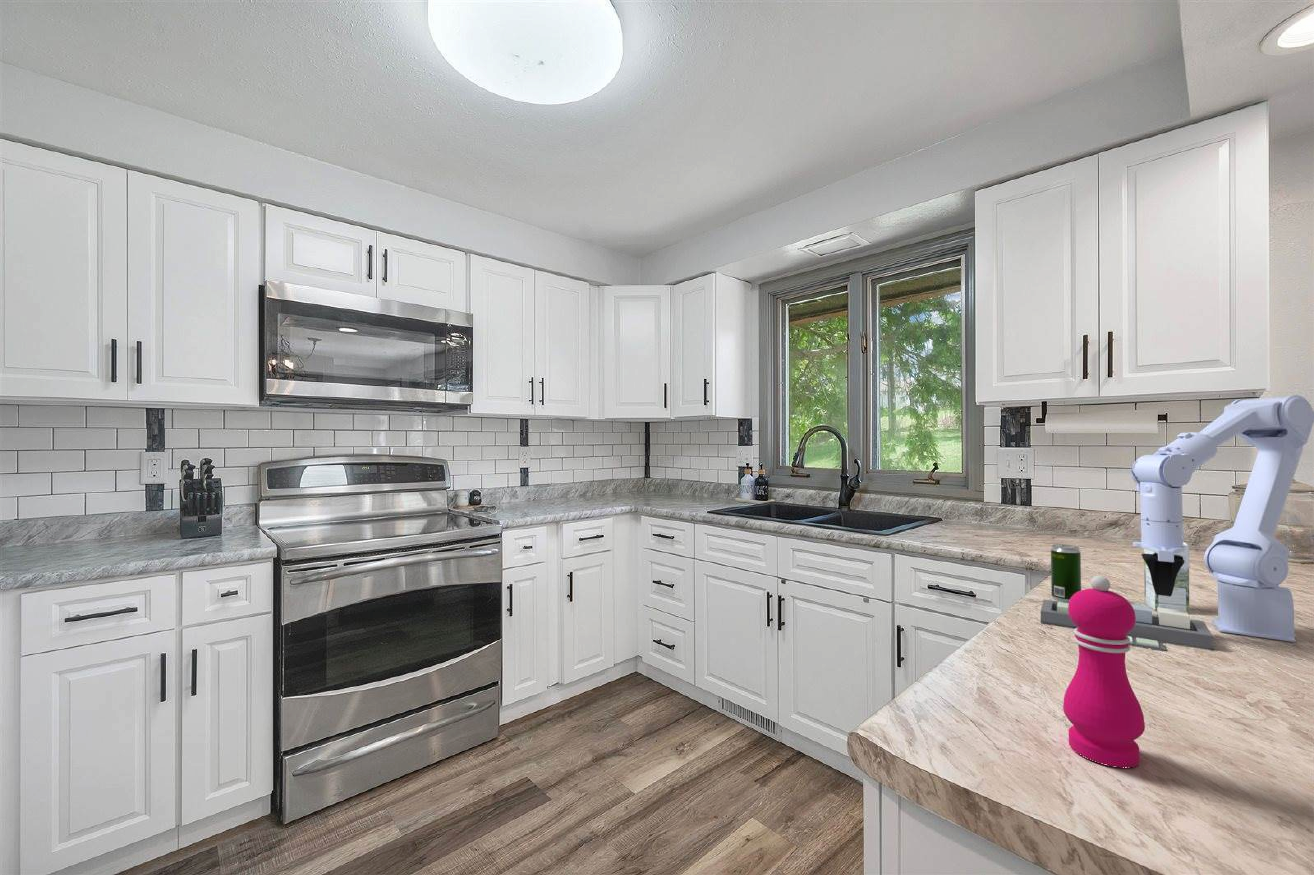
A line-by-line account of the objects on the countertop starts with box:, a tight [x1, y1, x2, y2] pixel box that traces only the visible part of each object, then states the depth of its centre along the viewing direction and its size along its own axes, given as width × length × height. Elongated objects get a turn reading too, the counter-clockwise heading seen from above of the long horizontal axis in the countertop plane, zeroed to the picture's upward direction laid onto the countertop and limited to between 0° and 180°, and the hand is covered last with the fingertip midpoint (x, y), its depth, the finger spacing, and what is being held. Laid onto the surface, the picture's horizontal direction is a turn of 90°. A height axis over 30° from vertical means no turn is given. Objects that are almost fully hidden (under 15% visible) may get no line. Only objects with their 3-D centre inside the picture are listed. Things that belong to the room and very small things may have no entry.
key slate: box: [1130, 603, 1153, 624], centre depth 104 cm, size 4×4×2 cm
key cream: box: [1156, 607, 1191, 629], centre depth 100 cm, size 4×4×2 cm
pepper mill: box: [1062, 575, 1146, 769], centre depth 63 cm, size 7×7×20 cm
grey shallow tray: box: [1040, 599, 1214, 651], centre depth 105 cm, size 24×10×2 cm, turn 52°
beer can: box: [1050, 543, 1082, 603], centre depth 125 cm, size 5×5×12 cm
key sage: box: [1057, 601, 1069, 613], centre depth 110 cm, size 4×4×2 cm
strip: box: [1128, 636, 1166, 652], centre depth 98 cm, size 11×4×1 cm, turn 52°
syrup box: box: [1143, 541, 1190, 614], centre depth 117 cm, size 6×6×14 cm
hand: (1163, 594), depth 101 cm, fingers closed
